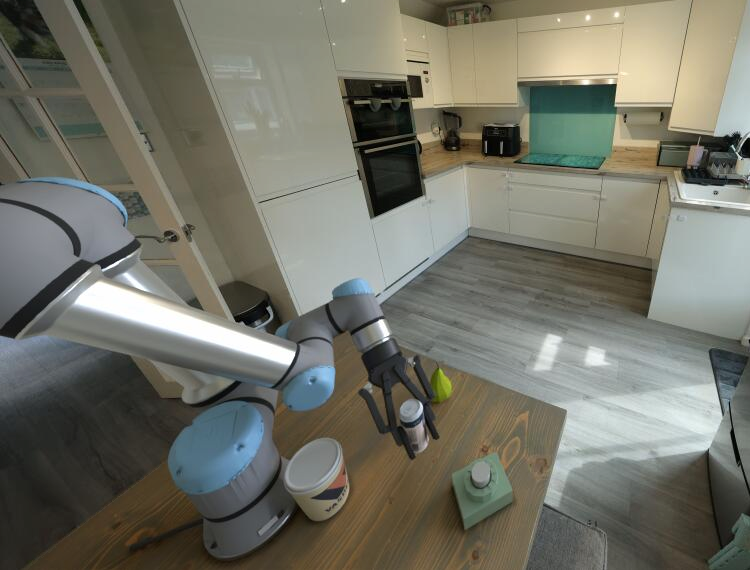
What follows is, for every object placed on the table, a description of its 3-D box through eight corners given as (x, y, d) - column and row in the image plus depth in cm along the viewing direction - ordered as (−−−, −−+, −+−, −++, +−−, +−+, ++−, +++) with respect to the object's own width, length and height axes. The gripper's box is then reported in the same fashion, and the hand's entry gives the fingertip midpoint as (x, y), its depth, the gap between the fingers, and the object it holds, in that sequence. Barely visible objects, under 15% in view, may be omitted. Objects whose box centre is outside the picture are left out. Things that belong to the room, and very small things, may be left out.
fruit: (438, 412, 79) (433, 379, 74) (423, 398, 82) (418, 365, 77) (457, 395, 83) (454, 363, 78) (443, 382, 87) (439, 350, 82)
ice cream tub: (332, 533, 57) (315, 497, 52) (289, 520, 59) (268, 484, 54) (363, 476, 66) (351, 441, 61) (325, 466, 67) (310, 431, 62)
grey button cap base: (464, 530, 58) (462, 513, 55) (452, 485, 64) (450, 468, 62) (512, 501, 62) (512, 484, 59) (496, 462, 68) (496, 445, 66)
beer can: (433, 440, 69) (427, 404, 64) (417, 460, 65) (408, 423, 60) (418, 428, 71) (411, 392, 66) (401, 447, 67) (392, 410, 62)
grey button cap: (475, 492, 59) (475, 486, 58) (469, 472, 61) (468, 466, 61) (493, 482, 60) (492, 476, 59) (486, 464, 63) (485, 458, 62)
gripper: (410, 328, 76) (454, 417, 73) (332, 370, 65) (379, 479, 61) (418, 322, 71) (466, 419, 67) (334, 367, 60) (386, 486, 56)
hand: (424, 447), depth 64 cm, fingers closed on beer can, 5 cm apart
